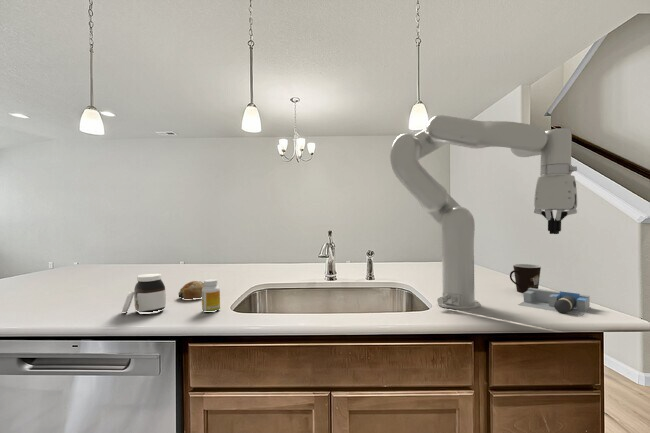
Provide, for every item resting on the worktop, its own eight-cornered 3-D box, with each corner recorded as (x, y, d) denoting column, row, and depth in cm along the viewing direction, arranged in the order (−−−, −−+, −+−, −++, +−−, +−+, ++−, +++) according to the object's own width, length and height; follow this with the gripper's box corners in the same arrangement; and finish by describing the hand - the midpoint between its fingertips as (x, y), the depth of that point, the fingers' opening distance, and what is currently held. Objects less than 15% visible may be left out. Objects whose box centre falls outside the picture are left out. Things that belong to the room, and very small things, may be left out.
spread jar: (169, 312, 108) (168, 275, 108) (130, 320, 99) (129, 280, 99) (154, 305, 116) (153, 271, 116) (116, 313, 108) (115, 276, 107)
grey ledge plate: (582, 317, 95) (581, 300, 95) (517, 306, 107) (517, 291, 107) (591, 309, 103) (590, 293, 103) (530, 299, 115) (530, 285, 115)
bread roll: (197, 311, 121) (207, 290, 121) (171, 299, 121) (180, 278, 121) (207, 304, 131) (216, 285, 131) (183, 292, 131) (192, 273, 131)
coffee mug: (533, 290, 128) (533, 264, 128) (546, 296, 120) (545, 267, 119) (501, 290, 129) (500, 264, 129) (511, 296, 121) (510, 267, 121)
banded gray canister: (569, 314, 96) (568, 301, 97) (554, 312, 99) (553, 299, 99) (576, 308, 102) (575, 296, 102) (561, 306, 105) (561, 294, 105)
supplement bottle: (223, 309, 110) (223, 279, 109) (211, 314, 105) (211, 282, 105) (210, 307, 112) (210, 278, 112) (198, 312, 107) (197, 281, 107)
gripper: (589, 170, 98) (588, 234, 99) (531, 174, 110) (530, 232, 110) (583, 168, 94) (581, 235, 94) (523, 172, 105) (522, 233, 105)
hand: (554, 233), depth 102 cm, fingers closed
